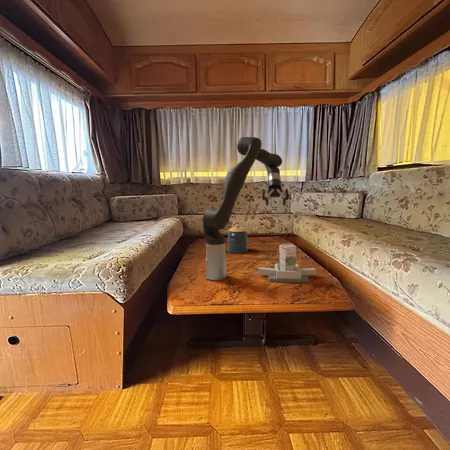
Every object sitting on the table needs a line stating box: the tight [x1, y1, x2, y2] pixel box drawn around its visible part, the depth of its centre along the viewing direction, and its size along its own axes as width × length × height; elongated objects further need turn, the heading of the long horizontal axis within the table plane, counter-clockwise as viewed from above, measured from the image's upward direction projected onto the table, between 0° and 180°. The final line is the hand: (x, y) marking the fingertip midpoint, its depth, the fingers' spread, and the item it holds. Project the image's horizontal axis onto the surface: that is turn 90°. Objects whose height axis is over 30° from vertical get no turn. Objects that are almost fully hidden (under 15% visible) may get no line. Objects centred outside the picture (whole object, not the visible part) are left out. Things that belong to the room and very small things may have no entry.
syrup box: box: [278, 243, 297, 271], centre depth 133 cm, size 6×6×14 cm
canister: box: [227, 223, 249, 254], centre depth 181 cm, size 13×13×18 cm
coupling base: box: [258, 263, 317, 284], centre depth 133 cm, size 27×12×5 cm, turn 85°
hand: (275, 204), depth 150 cm, fingers open, 8 cm apart
